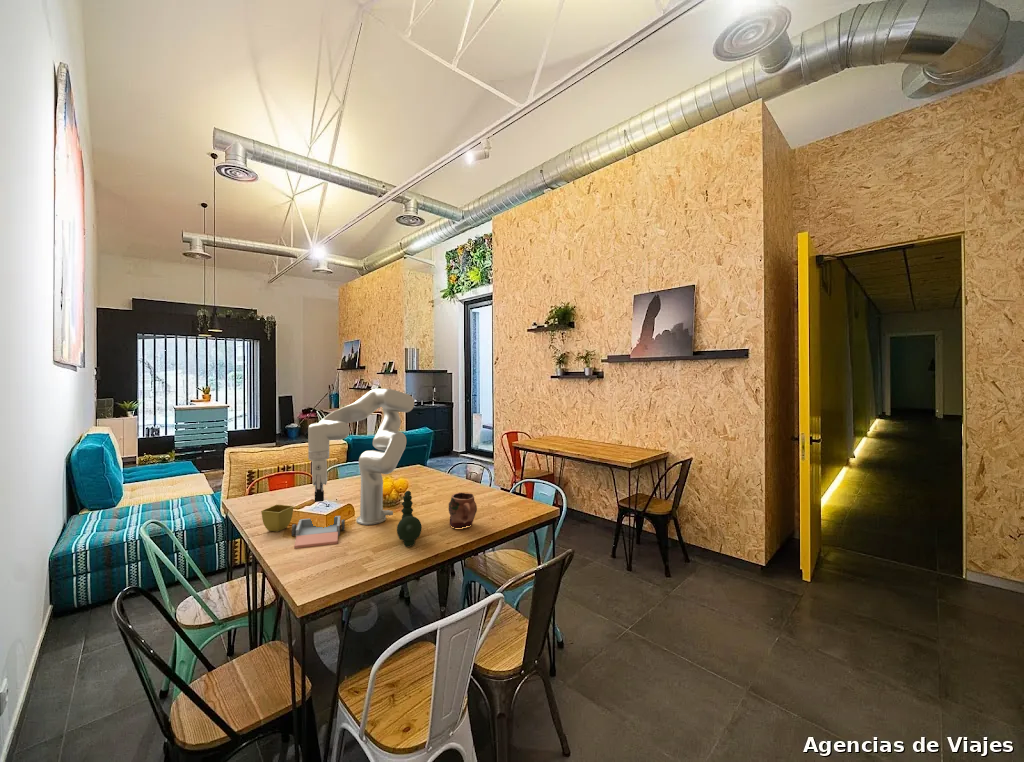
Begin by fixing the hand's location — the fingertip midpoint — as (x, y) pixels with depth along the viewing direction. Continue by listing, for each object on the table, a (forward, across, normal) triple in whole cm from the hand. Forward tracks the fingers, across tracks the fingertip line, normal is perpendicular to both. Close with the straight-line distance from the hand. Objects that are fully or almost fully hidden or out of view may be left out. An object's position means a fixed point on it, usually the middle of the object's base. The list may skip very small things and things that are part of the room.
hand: (319, 501), depth 166 cm
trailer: (+16, +11, +1) cm, 20 cm away
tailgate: (+14, +2, +1) cm, 14 cm away
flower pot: (+16, +19, +17) cm, 30 cm away
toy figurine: (+17, -10, -33) cm, 38 cm away
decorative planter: (+17, -4, -57) cm, 60 cm away
